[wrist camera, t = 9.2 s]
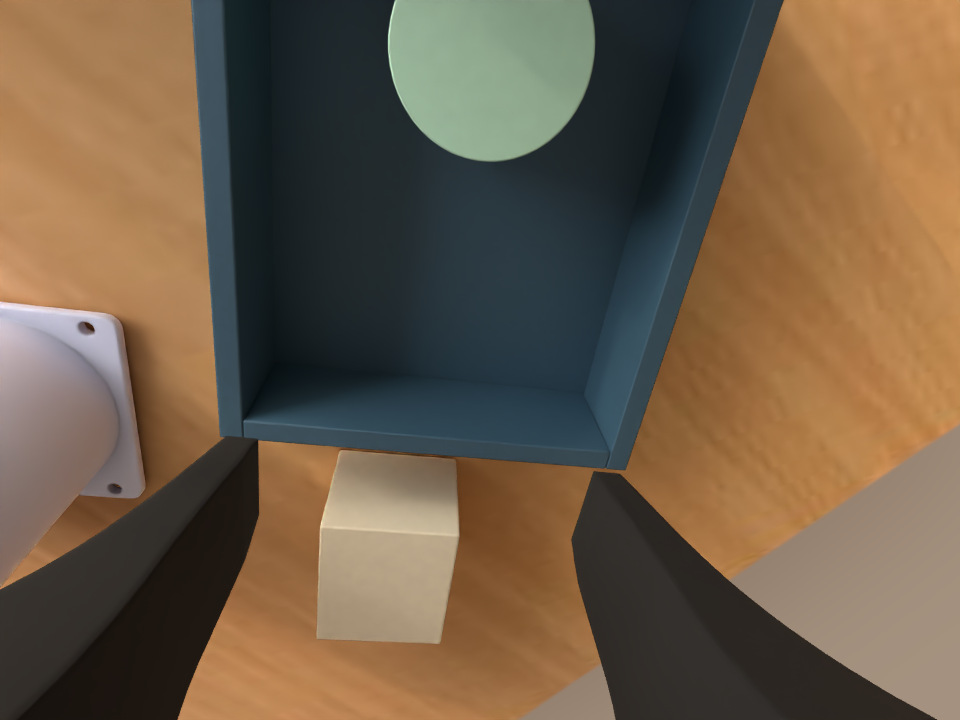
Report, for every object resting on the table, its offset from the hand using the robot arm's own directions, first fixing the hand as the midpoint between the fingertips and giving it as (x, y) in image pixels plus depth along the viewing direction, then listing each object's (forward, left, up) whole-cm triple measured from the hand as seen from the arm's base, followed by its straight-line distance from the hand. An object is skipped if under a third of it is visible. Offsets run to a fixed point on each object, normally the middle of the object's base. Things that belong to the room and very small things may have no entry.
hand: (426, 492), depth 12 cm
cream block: (-1, -9, -9) cm, 13 cm away
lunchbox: (0, +5, -9) cm, 11 cm away
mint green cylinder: (0, +9, -9) cm, 12 cm away
